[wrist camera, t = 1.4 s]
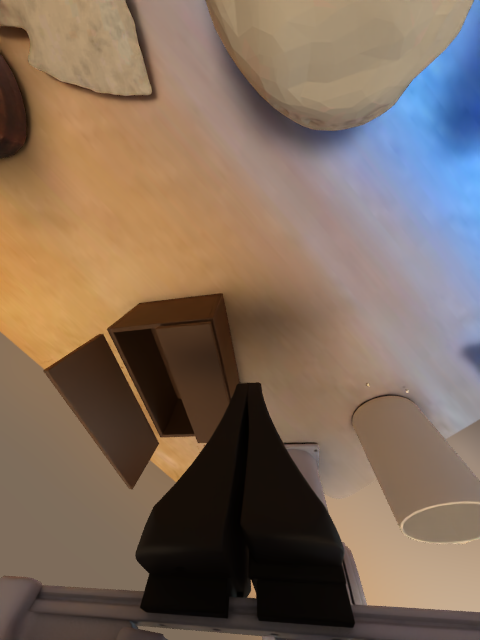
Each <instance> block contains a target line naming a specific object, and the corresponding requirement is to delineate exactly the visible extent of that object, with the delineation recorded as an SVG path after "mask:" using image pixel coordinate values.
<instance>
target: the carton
mask: <svg viewBox="0 0 480 640" xmlns="http://www.w3.org/2000/svg"><path fill="white" fill-rule="evenodd" d="M107 330H108V332H109V334H110V336H111V338H112V340H113V342H114V344H115V346H116V348H117V350H118V352H119V354H120V356H121V358H122V360H123V362H124V364H125V366H126V368H127V370H128V372H129V375H130V377H131V379H132V381H133V383H134V385H135V387H136V389H137V391H138V393H139V395H140V397H141V399H142V401H143V403H144V405H145V407H146V409H147V411H148V413H149V415H150V417H151V419H152V421H153V423H154V425H155V427H156V429H157V431H158V433H159V435H160V437H186V436H196V439H197V442H198V443H207V442H208V441H209V439H210V438H211V436H212V435H213V433H214V431H215V430H216V428H217V426H218V424H219V423H220V421H221V419H222V417H223V415H224V413H225V411H226V409H227V407H228V405H229V403H230V401H231V398H232V396H233V394H234V391H235V388H236V385H237V384H240V381H239V376H238V370H237V365H236V360H235V355H234V350H233V344H232V339H231V334H230V329H229V324H228V318H227V313H226V308H225V303H224V298H223V293H222V294H213V295H205V296H196V297H188V298H179V299H171V300H162V301H154V302H145V303H139V304H138V305H137V306H135V307H134V308H133V309H132V310H130V311H129V312H128V313H127V314H125V315H124V316H123V317H122V318H120V319H119V320H118V321H116V322H115V323H114V324H113V325H111V326H110V327H109V328H108V329H107Z"/></svg>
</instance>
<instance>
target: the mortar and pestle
mask: <svg viewBox="0 0 480 640" xmlns="http://www.w3.org/2000/svg"><path fill="white" fill-rule="evenodd" d="M25 139H26V114H25V109H24V105H23V100H22V95H21V93H20V90H19V87H18V85H17V82H16V80H15V78H14V76H13V73H12V71H11V70H10V68H9V66H8V65H7V63H6V62H5V60H4V58H3V57H2V56H1V54H0V158H6V157H10V156H12V155H14V154H15V153H16V152H17V151H18V150H19V149H20V148H21V147H22V146H23V145H24V142H25Z"/></svg>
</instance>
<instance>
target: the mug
mask: <svg viewBox="0 0 480 640" xmlns="http://www.w3.org/2000/svg"><path fill="white" fill-rule="evenodd" d="M352 425H353V427H354V430H355V432H356V434H357V436H358V438H359V440H360V443H361V445H362V447H363V449H364V451H365V453H366V456H367V458H368V460H369V462H370V464H371V467H372V469H373V471H374V473H375V475H376V477H377V480H378V482H379V484H380V486H381V488H382V490H383V493H384V495H385V497H386V499H387V501H388V504H389V506H390V508H391V510H392V512H393V514H394V517H395V519H396V521H397V523H398V525H399V528H400V530H401V532H402V533H403V534H404V535H405V536H407V537H408V538H410V539H413V540H416V541H420V542H425V543H432V544H453V543H456V544H465V543H468V542H469V541H473V540H477V539H480V481H479V479H478V478H477V477H476V476H475V475H474V474H473V472H472V471H471V470H470V469H469V467H468V466H467V465H466V464H465V463H464V461H463V460H462V459H461V458H460V457H459V456H458V455H457V453H456V452H455V451H454V450H453V448H452V447H451V446H450V445H449V444H448V442H447V441H446V440H445V439H444V438H443V436H442V435H441V434H440V433H439V432H438V430H437V429H436V428H435V427H434V426H433V424H432V423H431V422H430V421H429V420H428V418H427V417H426V416H425V415H424V414H423V412H422V411H421V410H420V409H419V408H418V406H417V405H416V404H415V403H414V402H412V401H410V400H409V399H407V398H403V397H400V396H384V397H379V398H375V399H372V400H370V401H368V402H366V403H364V404H363V405H362V406H360V407H359V408H358V409H357V410H356V412H355V413H354V415H353V418H352Z"/></svg>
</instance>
